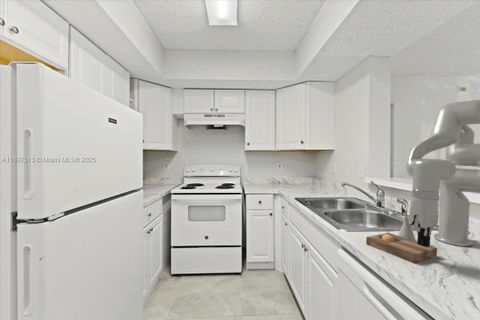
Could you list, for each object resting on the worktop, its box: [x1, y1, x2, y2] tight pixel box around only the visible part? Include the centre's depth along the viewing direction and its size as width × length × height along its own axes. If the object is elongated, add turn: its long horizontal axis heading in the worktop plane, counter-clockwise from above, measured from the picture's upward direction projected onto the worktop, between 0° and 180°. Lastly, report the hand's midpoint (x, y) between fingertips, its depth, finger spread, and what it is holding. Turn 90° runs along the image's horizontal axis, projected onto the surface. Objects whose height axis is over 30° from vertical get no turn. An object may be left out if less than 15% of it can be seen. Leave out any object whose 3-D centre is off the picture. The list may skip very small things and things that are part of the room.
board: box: [365, 232, 438, 264], centre depth 91 cm, size 14×18×3 cm
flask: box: [397, 216, 417, 242], centre depth 101 cm, size 7×7×10 cm
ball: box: [382, 235, 394, 242], centre depth 95 cm, size 4×4×4 cm
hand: (423, 245), depth 84 cm, fingers closed
